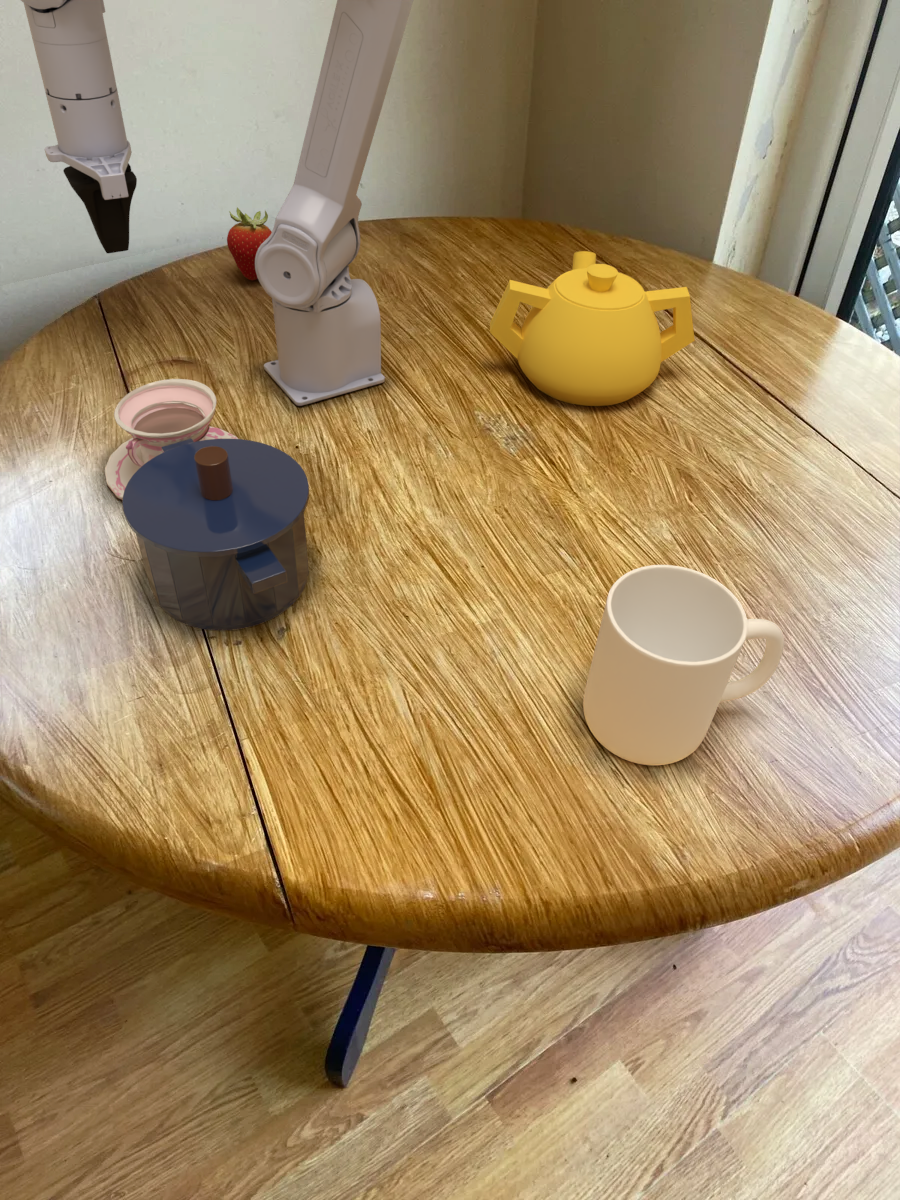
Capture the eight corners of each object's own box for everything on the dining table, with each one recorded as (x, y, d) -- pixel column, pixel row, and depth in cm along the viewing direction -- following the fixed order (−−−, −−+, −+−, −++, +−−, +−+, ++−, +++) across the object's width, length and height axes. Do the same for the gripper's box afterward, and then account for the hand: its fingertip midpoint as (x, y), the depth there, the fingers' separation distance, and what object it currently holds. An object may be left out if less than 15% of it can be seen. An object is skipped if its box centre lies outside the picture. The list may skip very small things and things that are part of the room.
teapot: (660, 322, 100) (683, 222, 92) (697, 416, 87) (728, 309, 79) (479, 317, 99) (487, 215, 91) (490, 411, 86) (500, 302, 78)
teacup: (166, 415, 83) (154, 354, 78) (278, 453, 79) (271, 391, 75) (74, 486, 75) (55, 423, 71) (194, 531, 72) (182, 468, 67)
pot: (257, 490, 76) (247, 414, 70) (352, 618, 66) (348, 540, 60) (119, 534, 71) (97, 456, 66) (199, 679, 61) (180, 600, 56)
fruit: (284, 272, 104) (278, 202, 98) (267, 293, 100) (260, 221, 95) (242, 266, 105) (234, 195, 99) (224, 286, 101) (214, 214, 95)
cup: (569, 673, 63) (593, 566, 56) (734, 664, 64) (778, 559, 57) (596, 774, 57) (626, 668, 50) (777, 761, 58) (831, 657, 51)
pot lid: (265, 433, 70) (260, 386, 67) (340, 526, 62) (338, 478, 59) (101, 481, 65) (88, 433, 62) (162, 588, 57) (150, 539, 54)
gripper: (17, 69, 79) (57, 225, 88) (46, 122, 70) (88, 289, 79) (100, 62, 81) (130, 215, 91) (139, 113, 72) (168, 276, 82)
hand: (116, 249), depth 85 cm, fingers closed
